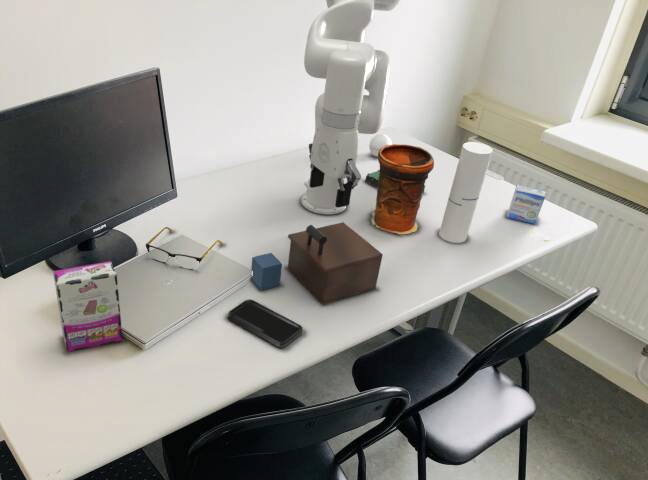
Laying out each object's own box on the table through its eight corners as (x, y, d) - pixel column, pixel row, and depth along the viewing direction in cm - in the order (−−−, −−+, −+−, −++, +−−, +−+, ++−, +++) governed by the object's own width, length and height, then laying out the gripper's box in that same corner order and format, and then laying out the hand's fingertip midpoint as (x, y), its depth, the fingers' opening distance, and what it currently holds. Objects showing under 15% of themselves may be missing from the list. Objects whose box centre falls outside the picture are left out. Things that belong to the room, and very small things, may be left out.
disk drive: (424, 193, 194) (387, 174, 203) (426, 185, 193) (389, 165, 201) (400, 202, 189) (364, 181, 198) (402, 193, 187) (365, 173, 196)
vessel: (360, 228, 175) (373, 158, 163) (372, 205, 186) (385, 138, 174) (413, 241, 171) (430, 171, 159) (423, 217, 182) (439, 150, 170)
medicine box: (506, 218, 185) (515, 190, 180) (507, 211, 188) (516, 184, 183) (535, 224, 183) (545, 197, 178) (536, 217, 186) (546, 190, 181)
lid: (324, 272, 140) (328, 250, 137) (287, 237, 151) (290, 216, 148) (382, 257, 147) (386, 235, 143) (342, 224, 157) (346, 204, 154)
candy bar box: (117, 326, 135) (112, 259, 125) (123, 341, 131) (118, 273, 122) (61, 337, 131) (52, 269, 121) (66, 353, 127) (56, 284, 118)
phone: (249, 298, 144) (304, 327, 137) (248, 302, 144) (304, 331, 137) (225, 313, 139) (282, 345, 132) (225, 318, 139) (281, 349, 132)
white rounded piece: (362, 155, 214) (366, 133, 209) (376, 149, 218) (380, 128, 214) (387, 165, 208) (391, 144, 204) (401, 160, 213) (405, 138, 208)
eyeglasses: (144, 259, 156) (143, 245, 153) (171, 231, 167) (171, 217, 164) (198, 274, 152) (199, 259, 150) (222, 244, 163) (223, 231, 161)
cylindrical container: (466, 244, 171) (494, 155, 157) (439, 240, 172) (463, 151, 157) (465, 231, 177) (491, 144, 162) (438, 227, 178) (462, 140, 163)
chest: (323, 304, 146) (328, 271, 141) (287, 268, 157) (291, 237, 151) (375, 289, 152) (382, 257, 147) (337, 255, 163) (342, 225, 157)
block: (250, 278, 152) (252, 257, 149) (269, 274, 154) (271, 252, 151) (260, 290, 149) (262, 268, 145) (279, 285, 151) (282, 263, 147)
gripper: (300, 105, 133) (292, 182, 143) (350, 136, 121) (337, 217, 131) (331, 101, 136) (320, 176, 146) (382, 131, 124) (367, 210, 134)
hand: (328, 195), depth 139 cm, fingers open, 9 cm apart
